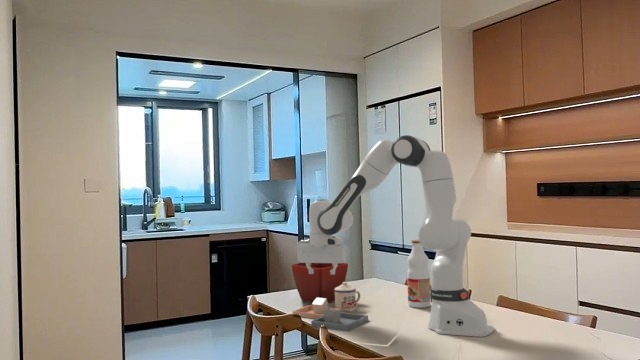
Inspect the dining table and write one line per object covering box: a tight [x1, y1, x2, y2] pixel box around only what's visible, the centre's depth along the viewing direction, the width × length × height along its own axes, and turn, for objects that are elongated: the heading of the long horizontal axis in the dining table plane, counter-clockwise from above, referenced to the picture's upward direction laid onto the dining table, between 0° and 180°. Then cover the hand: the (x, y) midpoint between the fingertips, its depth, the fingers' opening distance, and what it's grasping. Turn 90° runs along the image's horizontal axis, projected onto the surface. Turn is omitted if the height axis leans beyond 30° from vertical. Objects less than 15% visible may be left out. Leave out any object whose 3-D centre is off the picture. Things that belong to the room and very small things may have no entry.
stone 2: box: [324, 307, 341, 323], centre depth 197 cm, size 4×4×4 cm
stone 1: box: [311, 298, 329, 314], centre depth 211 cm, size 4×4×4 cm
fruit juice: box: [406, 239, 431, 309], centre depth 222 cm, size 9×9×28 cm
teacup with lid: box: [334, 281, 361, 312], centre depth 219 cm, size 12×9×12 cm
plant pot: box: [291, 262, 349, 304], centre depth 238 cm, size 19×19×17 cm
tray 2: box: [311, 311, 369, 332], centre depth 195 cm, size 15×16×2 cm
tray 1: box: [292, 304, 343, 320], centre depth 209 cm, size 16×12×2 cm
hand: (321, 274), depth 210 cm, fingers open, 8 cm apart
